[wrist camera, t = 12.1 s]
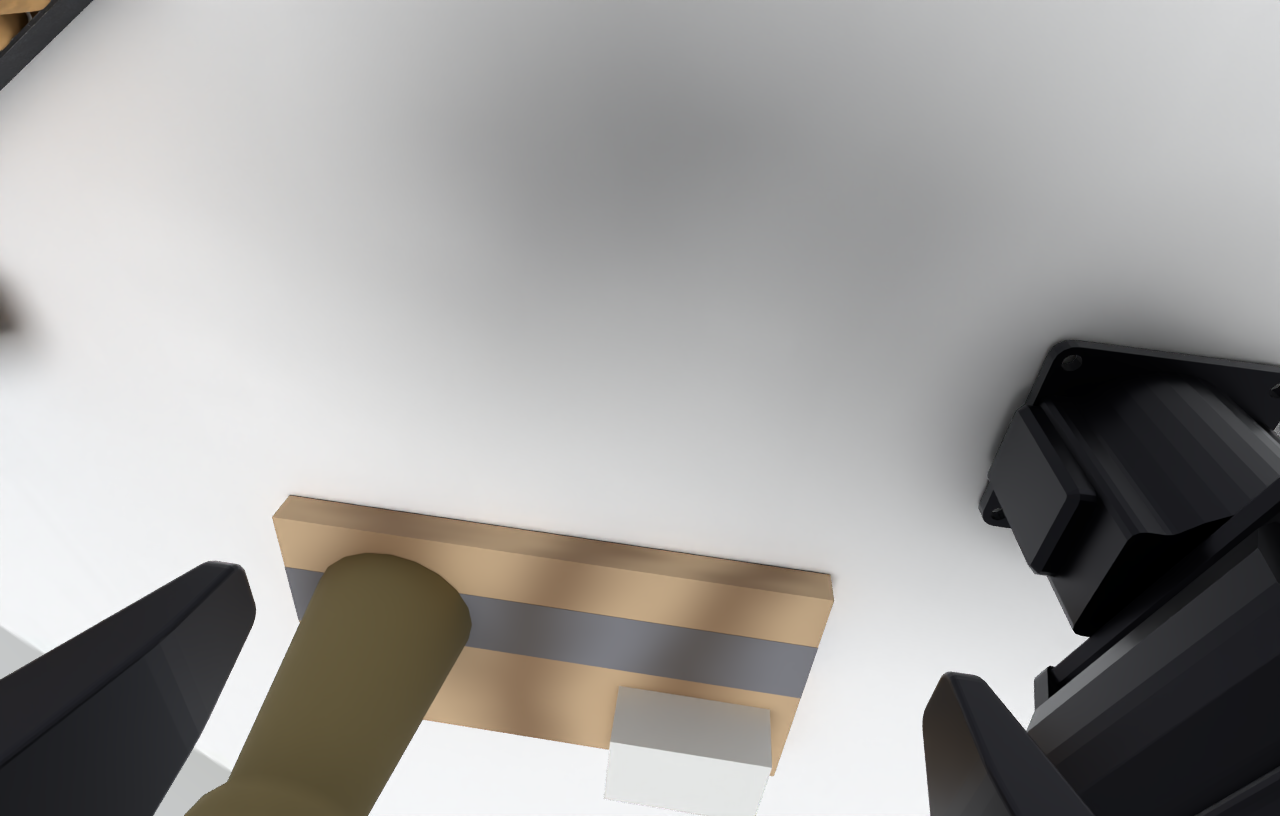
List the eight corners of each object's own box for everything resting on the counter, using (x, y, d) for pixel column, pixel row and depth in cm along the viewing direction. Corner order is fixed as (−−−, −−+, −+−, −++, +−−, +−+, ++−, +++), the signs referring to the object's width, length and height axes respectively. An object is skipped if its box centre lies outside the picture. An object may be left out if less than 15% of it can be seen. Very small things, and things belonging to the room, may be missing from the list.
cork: (335, 529, 26) (110, 857, 17) (493, 594, 27) (362, 939, 17) (305, 625, 29) (102, 944, 20) (446, 680, 30) (315, 1009, 21)
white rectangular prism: (769, 709, 28) (771, 768, 26) (752, 766, 31) (753, 823, 29) (619, 685, 29) (609, 741, 27) (612, 743, 31) (603, 799, 29)
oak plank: (830, 574, 26) (834, 601, 25) (772, 749, 32) (773, 776, 31) (289, 495, 27) (271, 517, 26) (333, 679, 33) (320, 703, 32)
